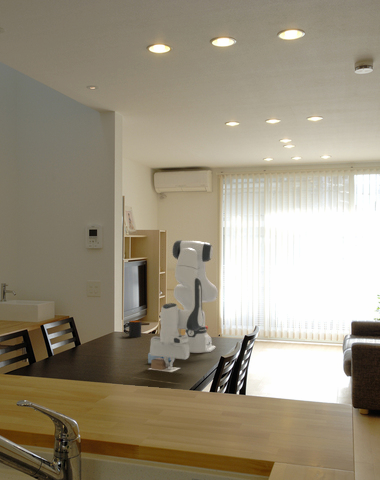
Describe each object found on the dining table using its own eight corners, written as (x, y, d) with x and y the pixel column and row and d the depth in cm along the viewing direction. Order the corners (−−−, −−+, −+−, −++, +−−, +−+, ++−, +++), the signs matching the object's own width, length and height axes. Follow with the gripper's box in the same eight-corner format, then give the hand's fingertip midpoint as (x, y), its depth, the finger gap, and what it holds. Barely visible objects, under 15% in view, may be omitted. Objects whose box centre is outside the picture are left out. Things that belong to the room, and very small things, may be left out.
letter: (157, 365, 240) (157, 365, 240) (180, 368, 234) (180, 368, 234) (148, 369, 232) (148, 368, 232) (171, 372, 226) (171, 371, 226)
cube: (153, 361, 250) (153, 351, 250) (161, 362, 247) (161, 352, 247) (148, 363, 245) (148, 353, 245) (156, 364, 243) (156, 354, 243)
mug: (126, 335, 336) (126, 320, 336) (142, 335, 333) (142, 320, 333) (122, 336, 328) (122, 321, 328) (138, 337, 325) (138, 322, 325)
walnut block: (157, 366, 238) (157, 357, 238) (168, 367, 235) (168, 359, 236) (151, 368, 233) (151, 360, 233) (162, 369, 230) (162, 361, 230)
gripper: (147, 336, 234) (147, 365, 234) (184, 340, 225) (184, 370, 225) (154, 335, 240) (153, 363, 239) (190, 338, 231) (190, 367, 230)
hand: (169, 366), depth 232 cm, fingers closed
